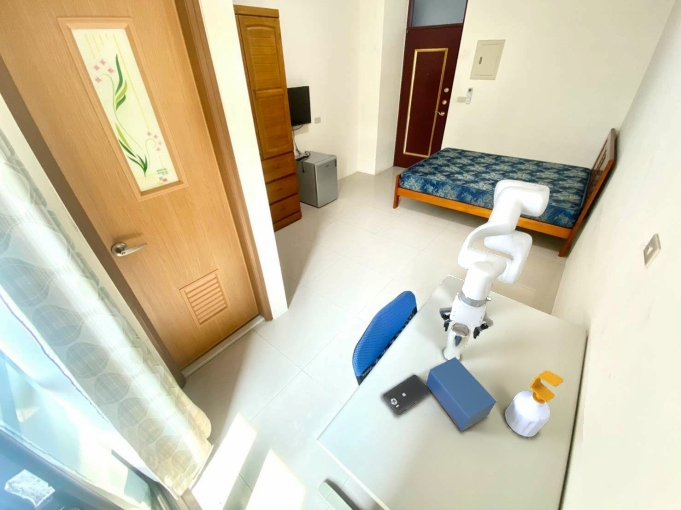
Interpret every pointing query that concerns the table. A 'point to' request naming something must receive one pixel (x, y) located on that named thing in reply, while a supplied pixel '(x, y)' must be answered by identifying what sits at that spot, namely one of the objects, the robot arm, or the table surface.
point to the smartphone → (406, 394)
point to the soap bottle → (532, 406)
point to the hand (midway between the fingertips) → (459, 332)
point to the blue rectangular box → (459, 393)
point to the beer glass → (456, 340)
